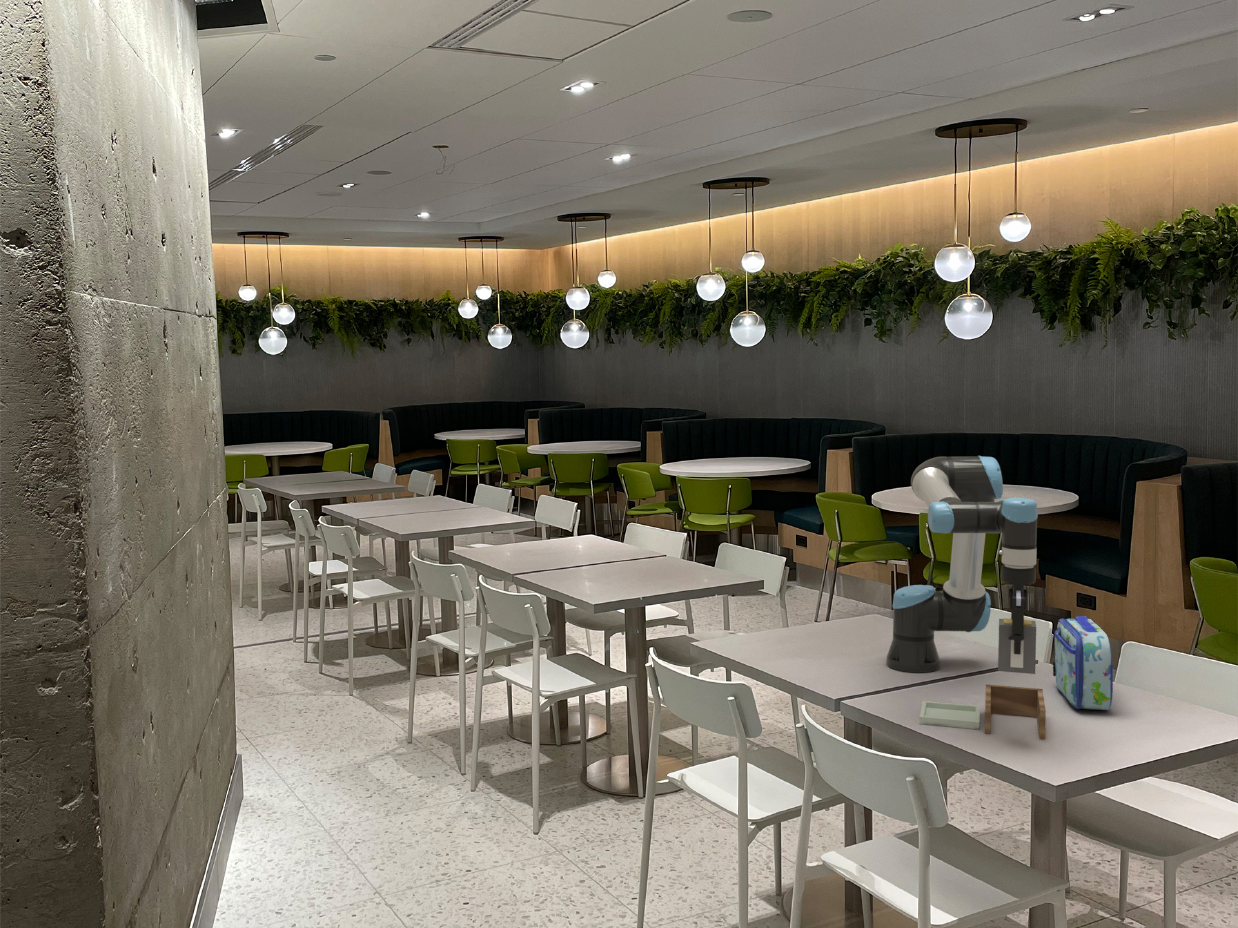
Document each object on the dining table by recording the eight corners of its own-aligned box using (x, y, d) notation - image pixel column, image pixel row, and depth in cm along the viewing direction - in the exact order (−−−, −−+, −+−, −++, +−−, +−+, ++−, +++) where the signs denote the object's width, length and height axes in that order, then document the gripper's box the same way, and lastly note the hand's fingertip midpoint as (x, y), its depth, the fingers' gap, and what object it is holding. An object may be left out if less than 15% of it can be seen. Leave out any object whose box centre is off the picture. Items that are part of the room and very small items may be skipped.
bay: (985, 711, 271) (985, 684, 270) (1041, 716, 266) (1042, 688, 266) (984, 733, 255) (985, 704, 254) (1045, 739, 250) (1045, 710, 249)
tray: (922, 707, 274) (922, 700, 274) (979, 712, 270) (980, 705, 269) (919, 723, 262) (919, 716, 262) (979, 729, 257) (979, 722, 257)
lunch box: (1049, 684, 292) (1051, 609, 290) (1091, 686, 290) (1093, 610, 288) (1070, 714, 267) (1072, 633, 265) (1115, 717, 265) (1118, 634, 263)
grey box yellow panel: (998, 664, 252) (999, 616, 251) (1034, 666, 250) (1035, 619, 248) (998, 671, 246) (999, 622, 245) (1035, 673, 244) (1036, 625, 243)
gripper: (1001, 557, 256) (999, 651, 258) (1001, 572, 238) (999, 673, 240) (1034, 558, 253) (1032, 653, 256) (1037, 574, 235) (1035, 675, 238)
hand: (1016, 662), depth 248 cm, fingers closed on grey box yellow panel, 6 cm apart
